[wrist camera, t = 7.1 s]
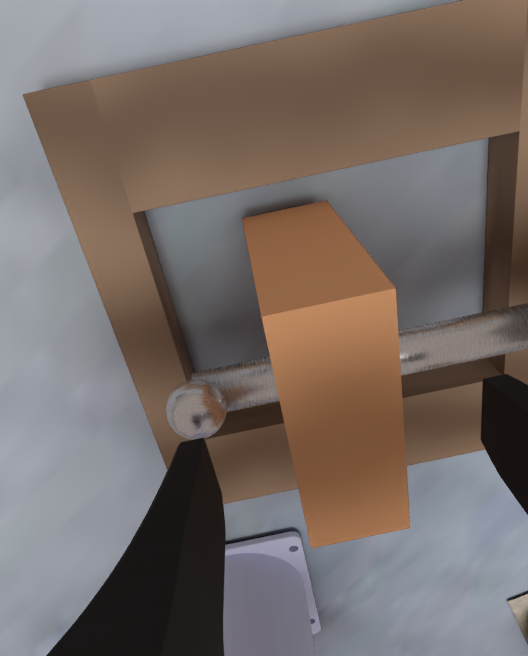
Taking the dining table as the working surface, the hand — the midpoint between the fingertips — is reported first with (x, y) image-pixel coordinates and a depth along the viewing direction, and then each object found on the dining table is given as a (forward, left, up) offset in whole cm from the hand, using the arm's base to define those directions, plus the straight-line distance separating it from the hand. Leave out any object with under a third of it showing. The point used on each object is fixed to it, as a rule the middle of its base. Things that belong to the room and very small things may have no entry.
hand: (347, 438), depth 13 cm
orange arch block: (0, 0, -8) cm, 8 cm away
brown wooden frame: (0, -4, -9) cm, 10 cm away
